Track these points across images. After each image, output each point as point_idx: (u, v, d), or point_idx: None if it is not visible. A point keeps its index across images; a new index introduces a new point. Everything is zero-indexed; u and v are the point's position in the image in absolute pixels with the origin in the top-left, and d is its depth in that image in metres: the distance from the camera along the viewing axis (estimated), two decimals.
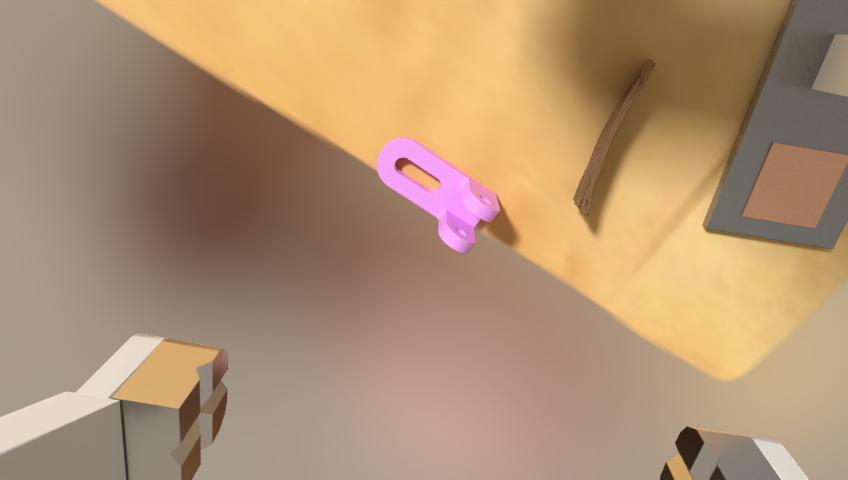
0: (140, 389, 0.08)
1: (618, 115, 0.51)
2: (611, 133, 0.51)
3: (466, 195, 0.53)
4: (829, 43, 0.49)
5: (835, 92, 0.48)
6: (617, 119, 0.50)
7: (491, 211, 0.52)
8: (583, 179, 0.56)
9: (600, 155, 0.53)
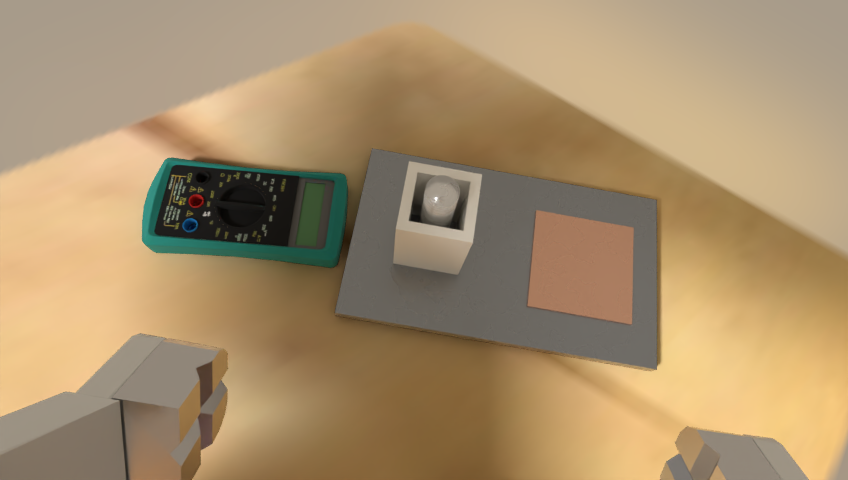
0: (140, 389, 0.08)
1: None
2: None
3: None
4: (403, 267, 0.40)
5: (462, 260, 0.37)
6: None
7: None
8: None
9: None
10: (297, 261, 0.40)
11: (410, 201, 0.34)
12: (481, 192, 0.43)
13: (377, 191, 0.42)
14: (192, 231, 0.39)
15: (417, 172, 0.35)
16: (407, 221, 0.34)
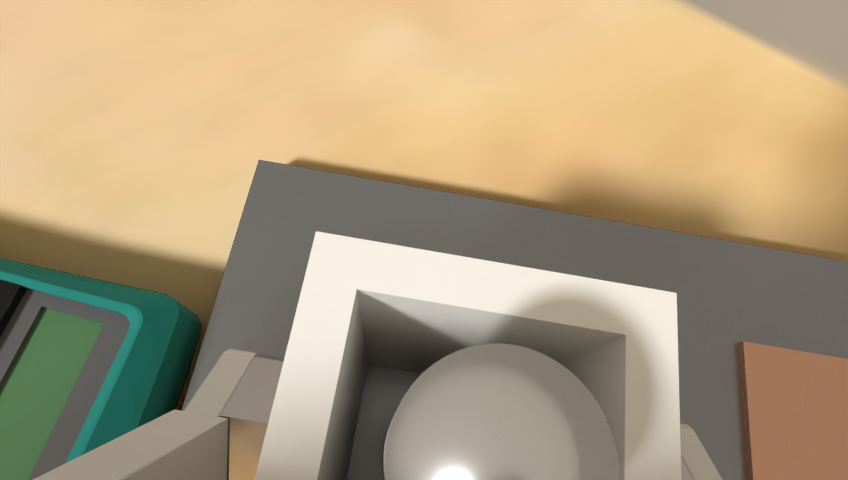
0: (245, 406, 0.08)
1: None
2: None
3: None
4: None
5: None
6: None
7: None
8: None
9: None
10: None
11: (309, 470, 0.06)
12: None
13: (265, 291, 0.14)
14: None
15: (356, 291, 0.07)
16: None
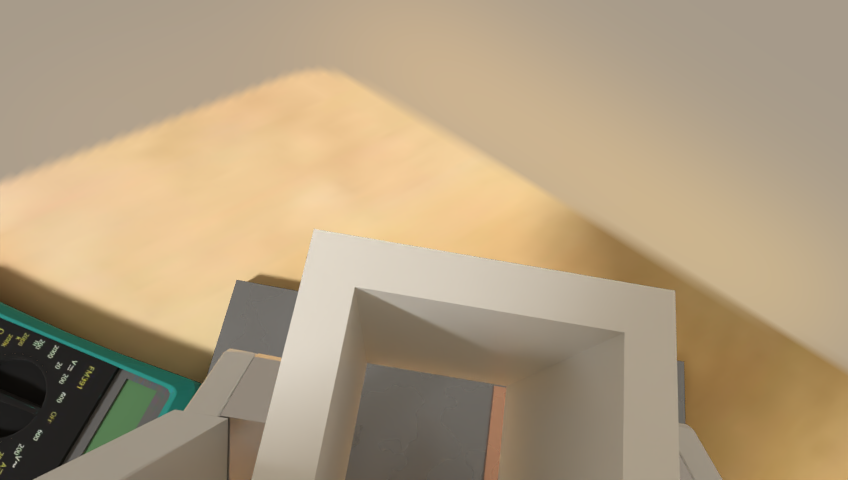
0: (245, 406, 0.08)
1: None
2: None
3: None
4: None
5: None
6: None
7: None
8: None
9: None
10: None
11: (307, 468, 0.06)
12: None
13: None
14: None
15: (354, 288, 0.07)
16: None
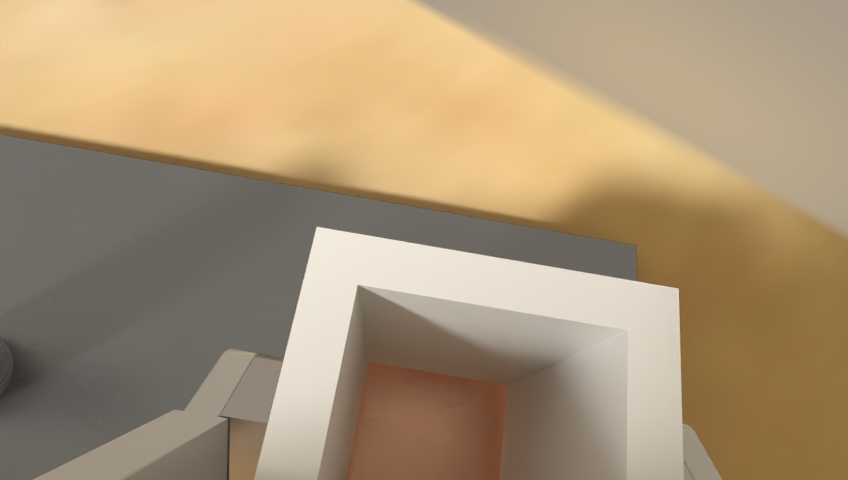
0: (245, 406, 0.08)
1: None
2: None
3: None
4: None
5: None
6: None
7: None
8: None
9: None
10: None
11: (311, 466, 0.06)
12: (158, 230, 0.16)
13: None
14: None
15: (358, 285, 0.07)
16: None
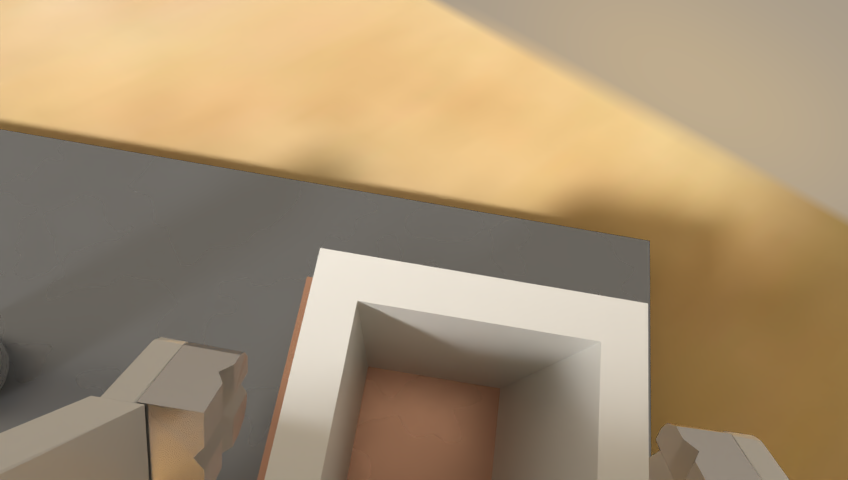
0: (165, 393, 0.08)
1: None
2: None
3: None
4: None
5: None
6: None
7: None
8: None
9: None
10: None
11: (315, 464, 0.07)
12: (159, 226, 0.15)
13: None
14: None
15: (356, 302, 0.08)
16: None
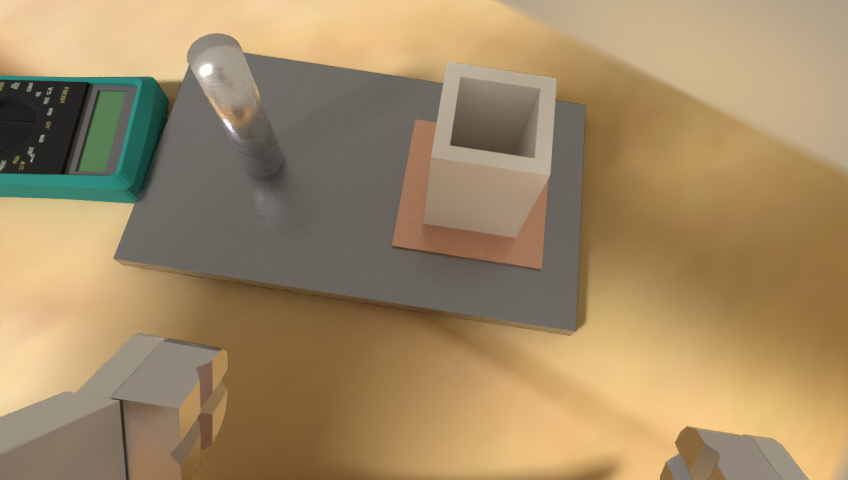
0: (140, 389, 0.08)
1: None
2: None
3: None
4: (221, 196, 0.29)
5: (527, 211, 0.25)
6: None
7: None
8: None
9: None
10: (86, 196, 0.29)
11: (451, 117, 0.23)
12: (341, 98, 0.31)
13: (196, 99, 0.31)
14: None
15: (460, 77, 0.24)
16: (448, 146, 0.22)
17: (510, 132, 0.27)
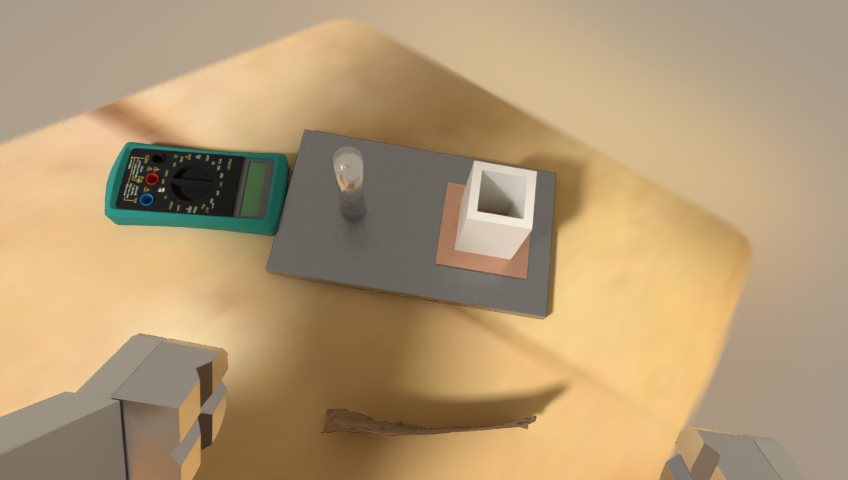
0: (140, 389, 0.08)
1: None
2: None
3: None
4: (328, 231, 0.46)
5: (518, 245, 0.43)
6: None
7: None
8: (492, 428, 0.41)
9: None
10: (242, 230, 0.46)
11: (477, 194, 0.40)
12: (400, 167, 0.49)
13: (307, 166, 0.48)
14: (148, 204, 0.44)
15: (482, 170, 0.41)
16: (476, 211, 0.40)
17: (509, 196, 0.45)
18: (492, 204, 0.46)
